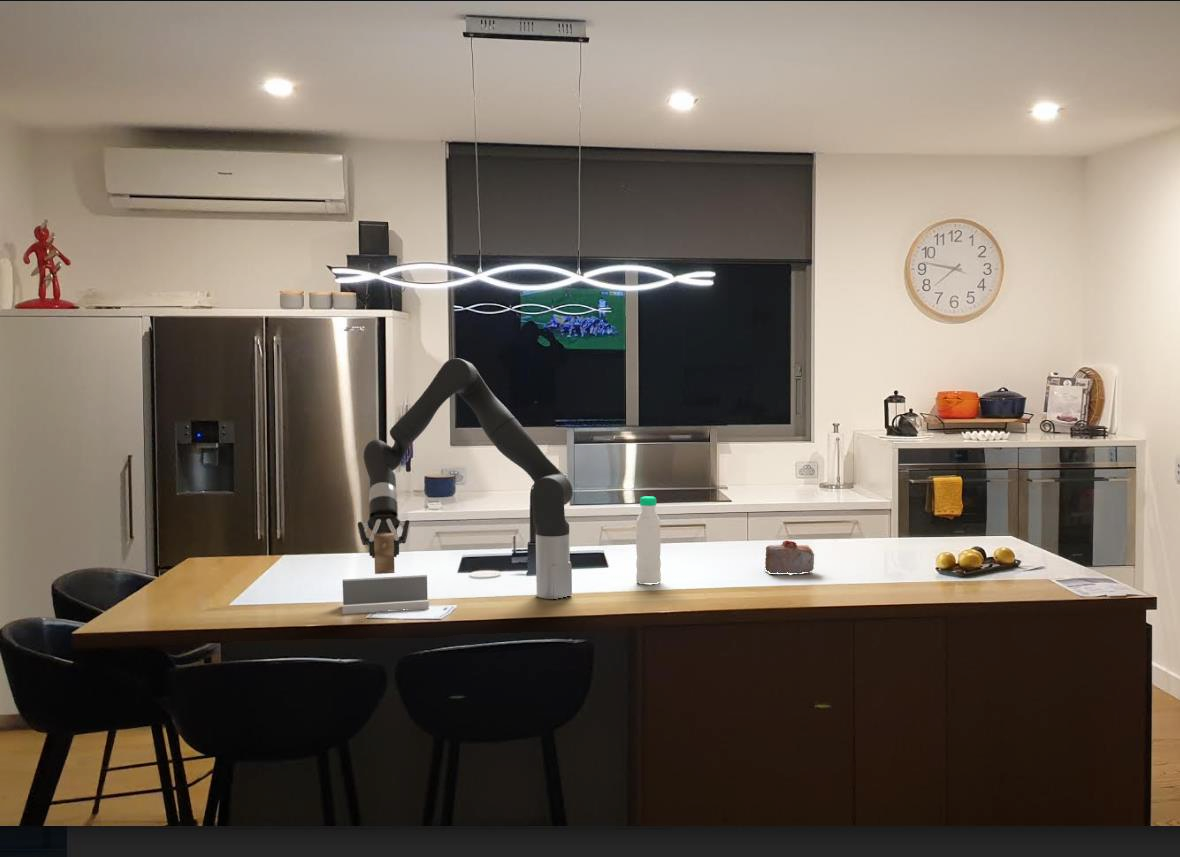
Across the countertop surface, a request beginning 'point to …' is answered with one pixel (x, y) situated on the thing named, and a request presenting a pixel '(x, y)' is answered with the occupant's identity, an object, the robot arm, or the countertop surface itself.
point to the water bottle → (648, 542)
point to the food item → (789, 558)
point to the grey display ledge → (384, 594)
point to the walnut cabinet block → (384, 553)
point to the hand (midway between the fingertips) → (384, 555)
